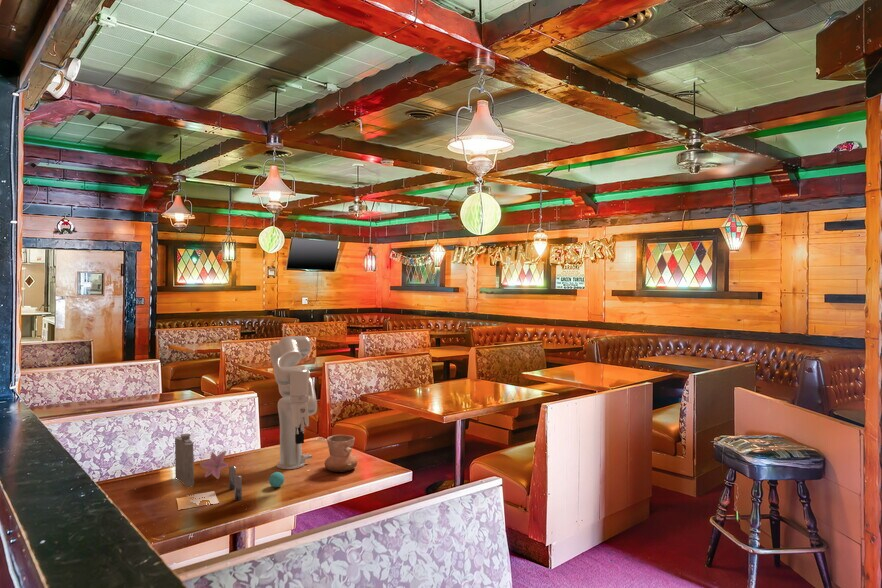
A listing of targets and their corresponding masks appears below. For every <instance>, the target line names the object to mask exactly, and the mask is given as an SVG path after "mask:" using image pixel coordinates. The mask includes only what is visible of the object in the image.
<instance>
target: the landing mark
mask: <svg viewBox="0 0 882 588" xmlns="http://www.w3.org/2000/svg"><path fill="white" fill-rule="evenodd" d="M189 495H190V496H189ZM189 495H187V496H188V497H194V499H193V498H192V499H193V500H192V499H191V500H190V499H189V500H190V502H193V503H196V504H197V505H199V503H200V501H202V500H209V501H210V503H211V504H213V505H217V504H218V503H220V502H219V499H218V497H217V495H216V492H215V490H213V491H212V490H211V491H207V492H202V493H201V492H200V493H195V494H189ZM191 495H192V496H191ZM193 495H194V496H193ZM202 497H203V498H202ZM204 497H205V498H204ZM195 498H196V499H195ZM199 498H200V499H199ZM208 503H209V502H208ZM210 503H209V505H207V502H206V505H207V506H211V505H210ZM218 505H219V504H218Z"/></svg>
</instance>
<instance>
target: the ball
mask: <svg viewBox="0 0 882 588" xmlns="http://www.w3.org/2000/svg"><path fill="white" fill-rule="evenodd" d="M284 482H285V476H284V474H283V473H282V472H280V471H275V472H273V473H272V474H270V476H269V478H268V483H269V485H270V486H271V487H273V488H279V487H281V486H283V484H284Z"/></svg>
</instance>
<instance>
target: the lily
mask: <svg viewBox="0 0 882 588" xmlns="http://www.w3.org/2000/svg"><path fill="white" fill-rule="evenodd" d="M226 454H227V450H224V451H222V452H221V453H219V454H217V455H216V454H215V453H214V452H213V451H211V453H210V458H209V459H207V460H205V461H202V462H200V463H199V466H200V467H201V468H204V469H205V470H206V471H205V474H204V478H207V477H210V476H211V474H212V475H213V476H214V477H215V478H216V479H217V480H219V479H220V474H221V470H222V469H224V468H227V467H230V464H228V463H227V462H226V461H224V459H225V456H226Z"/></svg>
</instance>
